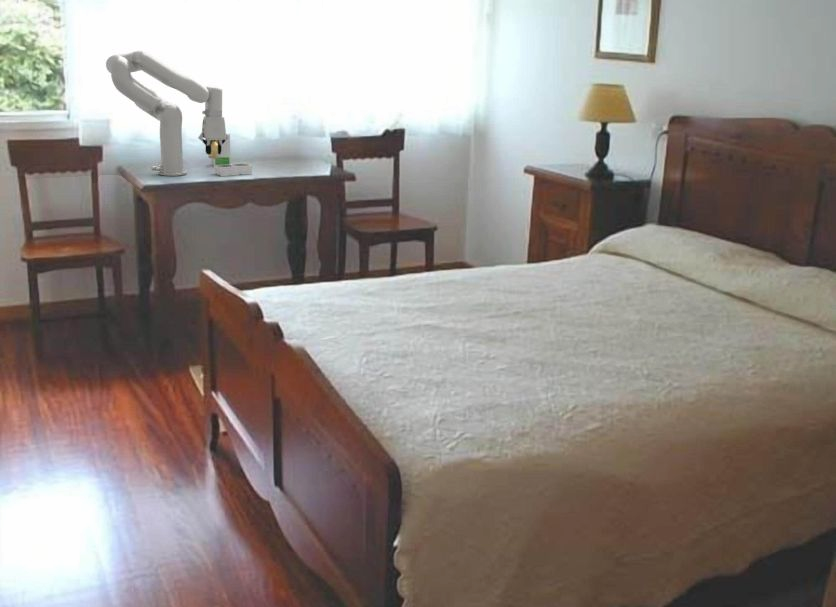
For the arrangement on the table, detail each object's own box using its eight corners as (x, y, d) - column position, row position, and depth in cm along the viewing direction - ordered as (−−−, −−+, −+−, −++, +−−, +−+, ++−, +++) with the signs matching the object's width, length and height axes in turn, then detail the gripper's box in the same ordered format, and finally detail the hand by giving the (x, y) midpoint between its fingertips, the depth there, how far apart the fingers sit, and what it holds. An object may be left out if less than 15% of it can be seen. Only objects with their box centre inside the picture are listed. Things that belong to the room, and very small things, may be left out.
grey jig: (221, 176, 420) (220, 167, 418) (214, 173, 426) (213, 164, 425) (251, 174, 428) (251, 165, 427) (244, 171, 434) (244, 162, 433)
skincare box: (214, 166, 447) (212, 133, 442) (211, 164, 452) (209, 132, 448) (231, 166, 450) (230, 133, 445) (228, 164, 456) (227, 131, 451)
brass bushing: (210, 158, 426) (210, 140, 424) (207, 157, 430) (207, 139, 427) (219, 158, 429) (219, 140, 426) (216, 157, 432) (216, 139, 430)
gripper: (199, 114, 416) (199, 155, 421) (234, 114, 425) (233, 154, 430) (192, 112, 422) (192, 153, 427) (227, 113, 431) (227, 152, 436)
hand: (213, 153), depth 429 cm, fingers closed on brass bushing, 4 cm apart
